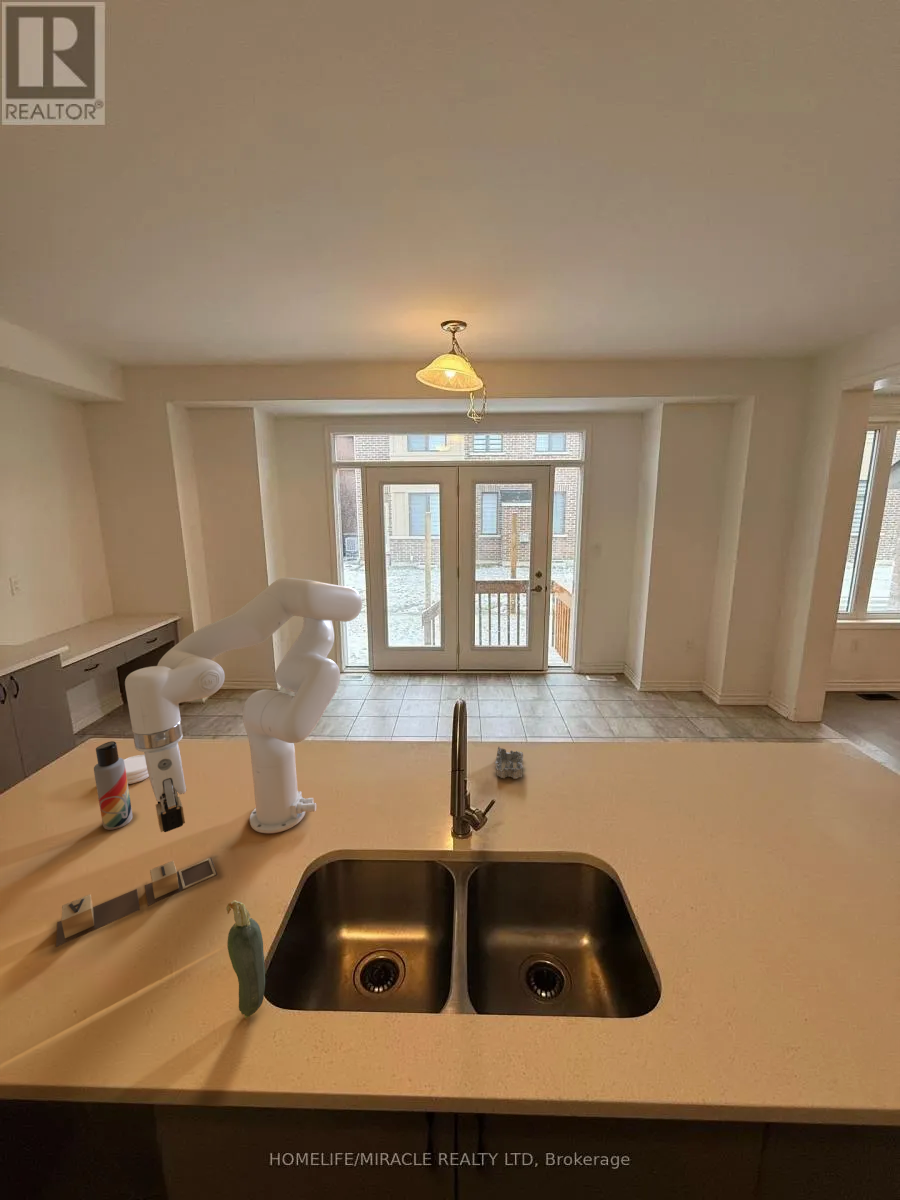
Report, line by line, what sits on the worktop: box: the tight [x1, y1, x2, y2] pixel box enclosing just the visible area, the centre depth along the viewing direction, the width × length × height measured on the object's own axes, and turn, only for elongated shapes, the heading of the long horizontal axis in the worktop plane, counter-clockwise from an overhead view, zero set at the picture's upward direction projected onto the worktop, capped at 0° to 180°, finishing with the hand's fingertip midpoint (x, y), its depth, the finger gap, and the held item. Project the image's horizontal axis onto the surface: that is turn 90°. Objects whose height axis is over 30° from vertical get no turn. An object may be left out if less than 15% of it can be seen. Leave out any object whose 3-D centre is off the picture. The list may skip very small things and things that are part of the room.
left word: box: [55, 888, 141, 948], centre depth 83 cm, size 12×6×4 cm, turn 128°
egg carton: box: [495, 746, 524, 780], centre depth 130 cm, size 11×8×4 cm
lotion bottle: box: [93, 740, 133, 831], centre depth 106 cm, size 6×6×20 cm
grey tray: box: [144, 857, 219, 907], centre depth 91 cm, size 12×6×4 cm, turn 128°
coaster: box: [123, 754, 149, 785], centre depth 127 cm, size 10×10×4 cm
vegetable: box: [225, 899, 266, 1020], centre depth 65 cm, size 4×4×20 cm
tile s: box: [155, 796, 186, 833], centre depth 88 cm, size 4×4×4 cm
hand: (171, 820), depth 88 cm, fingers closed on tile s, 4 cm apart
